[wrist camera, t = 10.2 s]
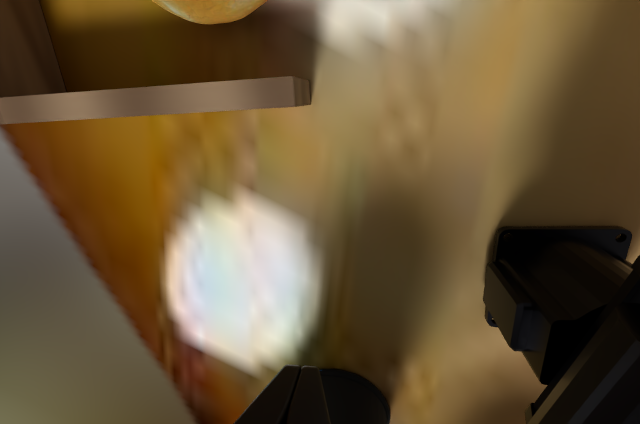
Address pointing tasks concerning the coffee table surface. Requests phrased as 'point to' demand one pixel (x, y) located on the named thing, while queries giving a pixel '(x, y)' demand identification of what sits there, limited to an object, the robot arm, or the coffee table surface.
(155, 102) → the tray
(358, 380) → the aerosol can
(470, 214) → the coffee table surface
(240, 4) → the fruit
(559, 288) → the robot arm
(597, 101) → the coffee table surface
